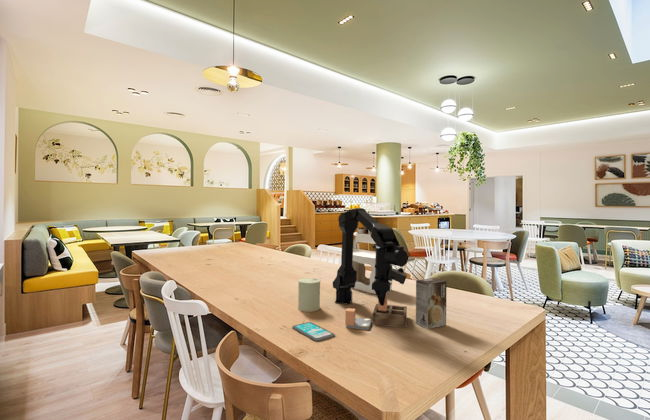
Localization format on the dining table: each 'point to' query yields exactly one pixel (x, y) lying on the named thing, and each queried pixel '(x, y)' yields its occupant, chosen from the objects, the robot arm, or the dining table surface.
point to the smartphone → (313, 331)
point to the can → (309, 294)
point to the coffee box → (431, 303)
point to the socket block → (390, 316)
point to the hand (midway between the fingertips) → (382, 304)
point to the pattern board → (356, 320)
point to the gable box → (364, 258)
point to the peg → (384, 307)
